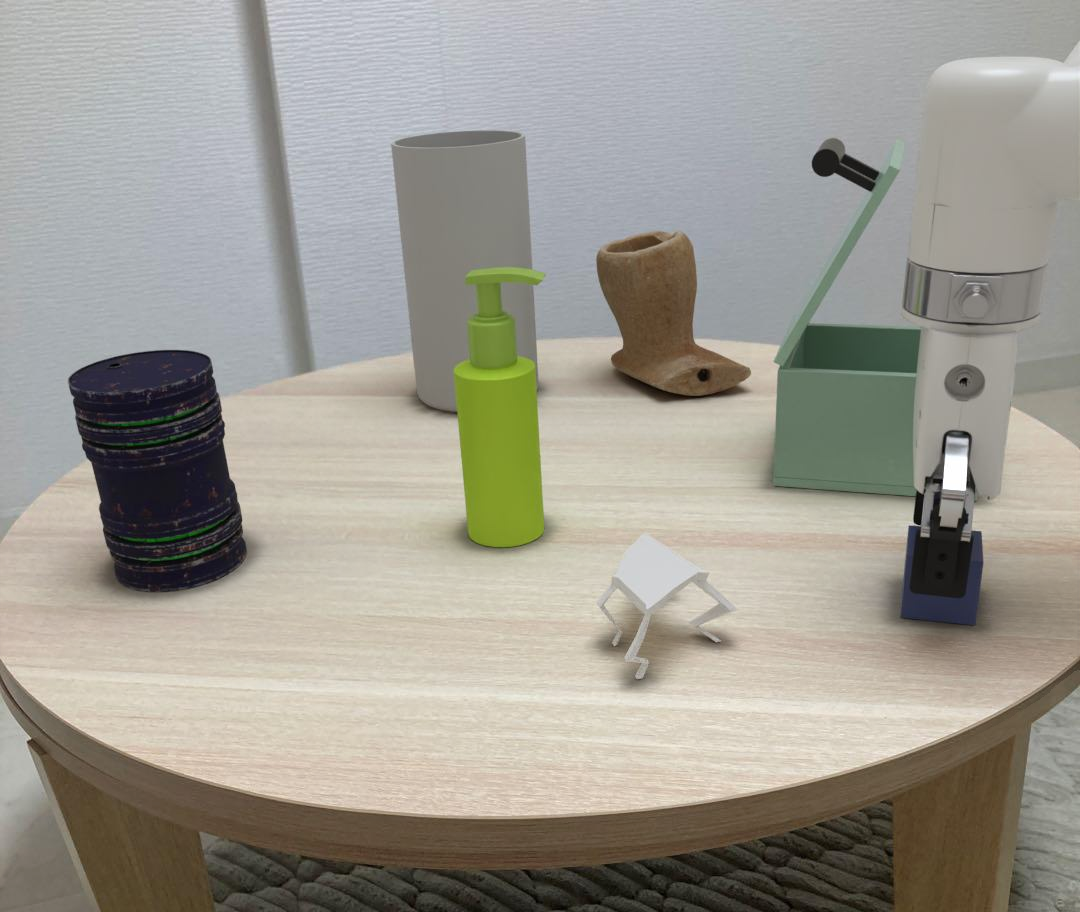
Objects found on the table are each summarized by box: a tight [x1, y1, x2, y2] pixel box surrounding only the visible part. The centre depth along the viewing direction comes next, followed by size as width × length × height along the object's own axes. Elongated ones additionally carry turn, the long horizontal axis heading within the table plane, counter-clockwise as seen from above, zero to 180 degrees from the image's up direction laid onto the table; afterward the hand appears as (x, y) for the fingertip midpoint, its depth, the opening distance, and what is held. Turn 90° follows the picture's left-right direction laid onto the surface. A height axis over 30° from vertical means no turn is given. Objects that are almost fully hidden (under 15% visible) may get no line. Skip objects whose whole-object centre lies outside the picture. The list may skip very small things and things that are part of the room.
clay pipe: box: [595, 230, 752, 397], centre depth 114 cm, size 15×12×15 cm
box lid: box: [773, 137, 906, 367], centre depth 90 cm, size 16×14×6 cm
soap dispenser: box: [454, 267, 547, 548], centre depth 83 cm, size 6×7×20 cm
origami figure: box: [596, 531, 739, 680], centre depth 72 cm, size 12×8×5 cm
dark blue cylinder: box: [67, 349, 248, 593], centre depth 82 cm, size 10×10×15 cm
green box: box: [772, 322, 979, 502], centre depth 94 cm, size 16×14×10 cm
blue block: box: [900, 524, 984, 626], centre depth 73 cm, size 4×4×4 cm
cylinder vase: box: [390, 129, 540, 413], centre depth 112 cm, size 12×12×25 cm
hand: (937, 557), depth 73 cm, fingers open, 9 cm apart
